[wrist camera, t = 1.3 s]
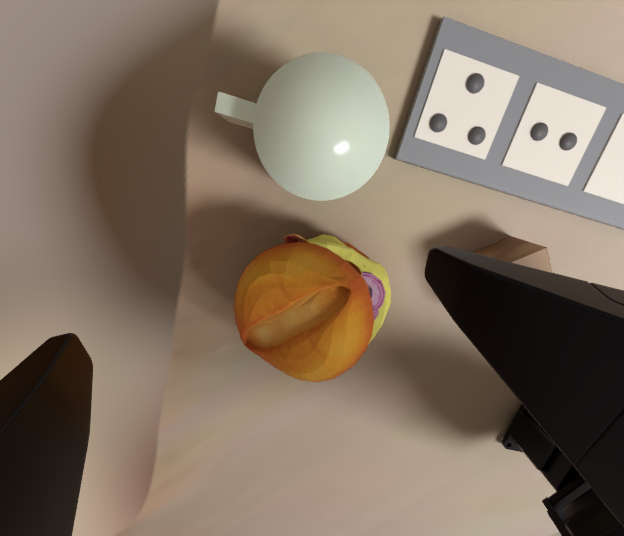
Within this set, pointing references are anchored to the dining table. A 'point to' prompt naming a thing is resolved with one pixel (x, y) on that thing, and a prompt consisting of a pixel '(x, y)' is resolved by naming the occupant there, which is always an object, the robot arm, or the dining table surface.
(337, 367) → the cheeseburger
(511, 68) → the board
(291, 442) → the dining table surface
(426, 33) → the dining table surface
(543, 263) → the brown wooden block
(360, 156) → the mug
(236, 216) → the dining table surface
